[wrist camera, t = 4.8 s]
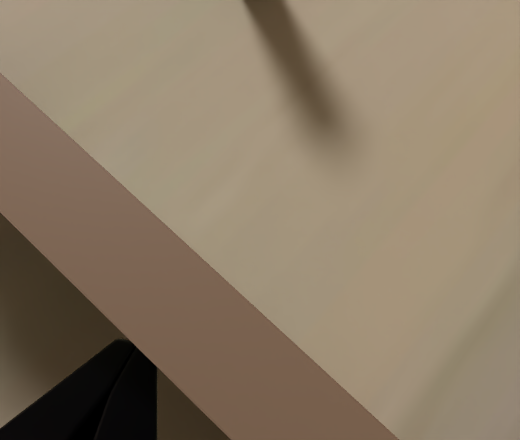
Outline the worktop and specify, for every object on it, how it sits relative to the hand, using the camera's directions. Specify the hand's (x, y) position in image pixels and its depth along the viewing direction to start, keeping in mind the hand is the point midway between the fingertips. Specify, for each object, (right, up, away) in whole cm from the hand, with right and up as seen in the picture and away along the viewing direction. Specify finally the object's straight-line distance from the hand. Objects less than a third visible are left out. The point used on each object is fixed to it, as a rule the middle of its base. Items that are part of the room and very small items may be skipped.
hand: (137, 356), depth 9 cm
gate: (-2, +2, +7) cm, 7 cm away
